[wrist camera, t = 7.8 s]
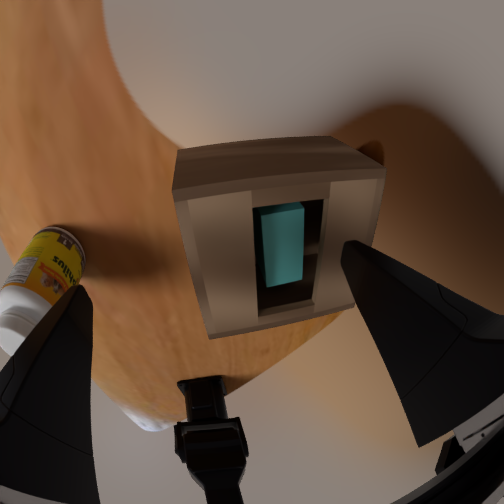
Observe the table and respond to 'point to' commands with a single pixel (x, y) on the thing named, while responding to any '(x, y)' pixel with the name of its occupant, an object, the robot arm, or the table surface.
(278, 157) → the wooden box
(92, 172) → the table surface
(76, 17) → the table surface
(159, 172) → the table surface
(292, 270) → the teal block
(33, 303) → the supplement bottle
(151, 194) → the table surface
